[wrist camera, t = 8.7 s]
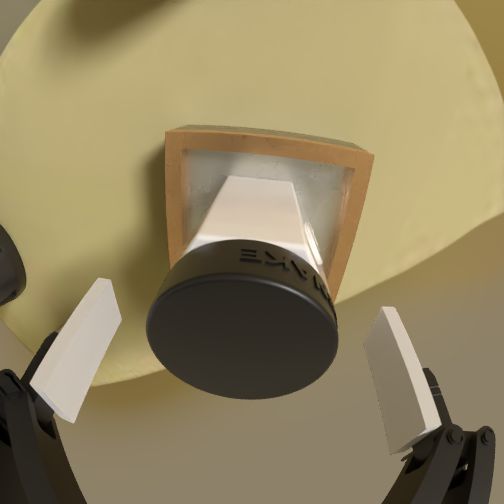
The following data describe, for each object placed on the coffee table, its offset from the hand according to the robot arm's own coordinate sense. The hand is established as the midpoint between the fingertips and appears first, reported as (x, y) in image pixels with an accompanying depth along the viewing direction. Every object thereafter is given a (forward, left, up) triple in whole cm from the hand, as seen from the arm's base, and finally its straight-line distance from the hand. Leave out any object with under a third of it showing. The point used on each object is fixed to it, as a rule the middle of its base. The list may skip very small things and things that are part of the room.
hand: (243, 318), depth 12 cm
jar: (0, 0, -10) cm, 10 cm away
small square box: (0, 0, -14) cm, 14 cm away
